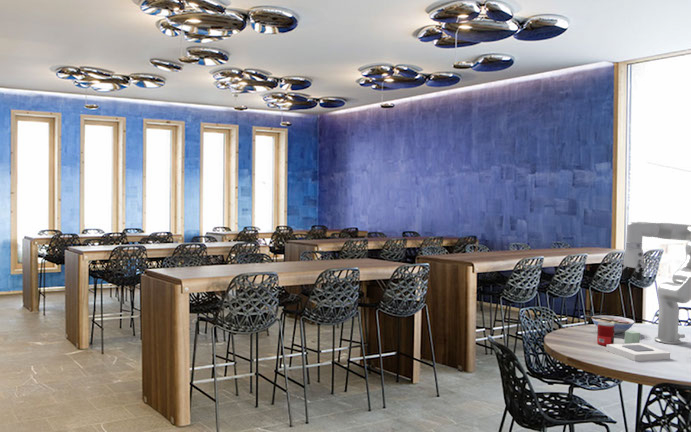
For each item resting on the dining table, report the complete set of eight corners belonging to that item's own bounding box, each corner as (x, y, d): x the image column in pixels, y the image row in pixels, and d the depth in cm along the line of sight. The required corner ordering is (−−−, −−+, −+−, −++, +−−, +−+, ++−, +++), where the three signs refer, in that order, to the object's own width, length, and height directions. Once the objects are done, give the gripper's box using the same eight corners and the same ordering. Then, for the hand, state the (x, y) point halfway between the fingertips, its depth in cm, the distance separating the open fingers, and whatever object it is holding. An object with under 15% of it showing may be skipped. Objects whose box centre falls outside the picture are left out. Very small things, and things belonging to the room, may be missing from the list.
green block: (632, 344, 330) (633, 330, 330) (639, 346, 325) (639, 332, 325) (624, 344, 328) (624, 331, 328) (631, 346, 324) (631, 333, 323)
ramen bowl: (642, 333, 356) (643, 319, 356) (625, 339, 341) (626, 324, 340) (599, 325, 374) (600, 312, 374) (581, 331, 359) (582, 316, 358)
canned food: (615, 346, 323) (615, 325, 322) (598, 345, 324) (599, 324, 324) (611, 343, 330) (612, 322, 330) (595, 342, 332) (596, 321, 331)
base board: (639, 348, 320) (640, 342, 320) (669, 359, 300) (670, 351, 300) (606, 350, 314) (606, 343, 314) (634, 361, 295) (634, 353, 295)
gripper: (652, 247, 321) (650, 281, 322) (628, 244, 338) (626, 276, 338) (639, 247, 319) (637, 281, 320) (616, 244, 336) (614, 276, 336)
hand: (632, 278), depth 329 cm, fingers open, 9 cm apart
